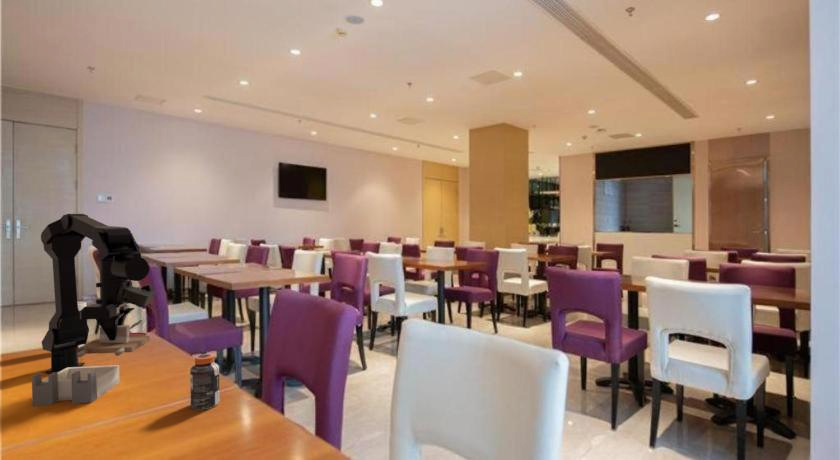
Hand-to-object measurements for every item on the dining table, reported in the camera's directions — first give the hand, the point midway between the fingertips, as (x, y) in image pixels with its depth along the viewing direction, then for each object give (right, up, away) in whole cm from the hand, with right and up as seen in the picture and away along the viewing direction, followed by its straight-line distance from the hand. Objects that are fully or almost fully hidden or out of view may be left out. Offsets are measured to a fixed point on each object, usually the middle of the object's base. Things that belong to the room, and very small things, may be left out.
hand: (114, 339), depth 110 cm
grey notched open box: (-5, -12, -5) cm, 14 cm away
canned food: (-19, -11, +34) cm, 41 cm away
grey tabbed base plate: (0, -2, -1) cm, 2 cm away
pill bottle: (+28, -13, -11) cm, 33 cm away
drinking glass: (-33, -11, +28) cm, 45 cm away
